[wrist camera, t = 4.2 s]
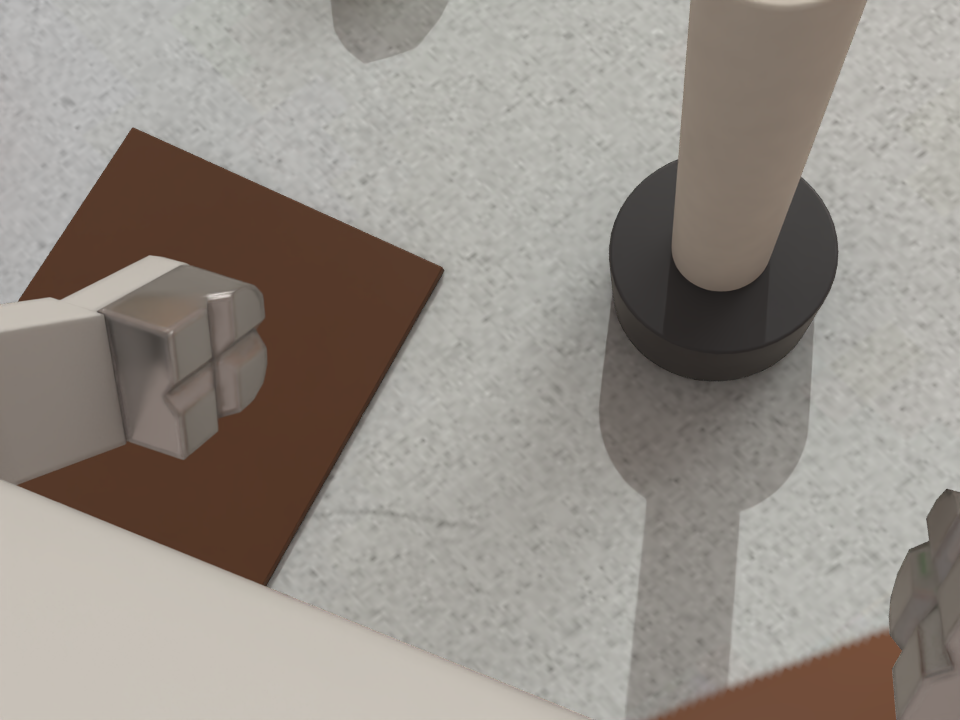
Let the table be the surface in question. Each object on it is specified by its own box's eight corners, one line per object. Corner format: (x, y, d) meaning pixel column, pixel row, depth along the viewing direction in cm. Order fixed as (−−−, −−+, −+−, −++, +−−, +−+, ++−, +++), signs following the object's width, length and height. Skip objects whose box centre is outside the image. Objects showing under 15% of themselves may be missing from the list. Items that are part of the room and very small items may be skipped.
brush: (765, 415, 23) (926, 182, 10) (579, 331, 25) (506, 38, 12) (848, 241, 24) (1098, -187, 11) (664, 172, 26) (684, -268, 13)
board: (223, 661, 24) (218, 661, 24) (-75, 453, 28) (-82, 452, 28) (444, 270, 26) (442, 267, 26) (137, 131, 30) (132, 126, 30)
